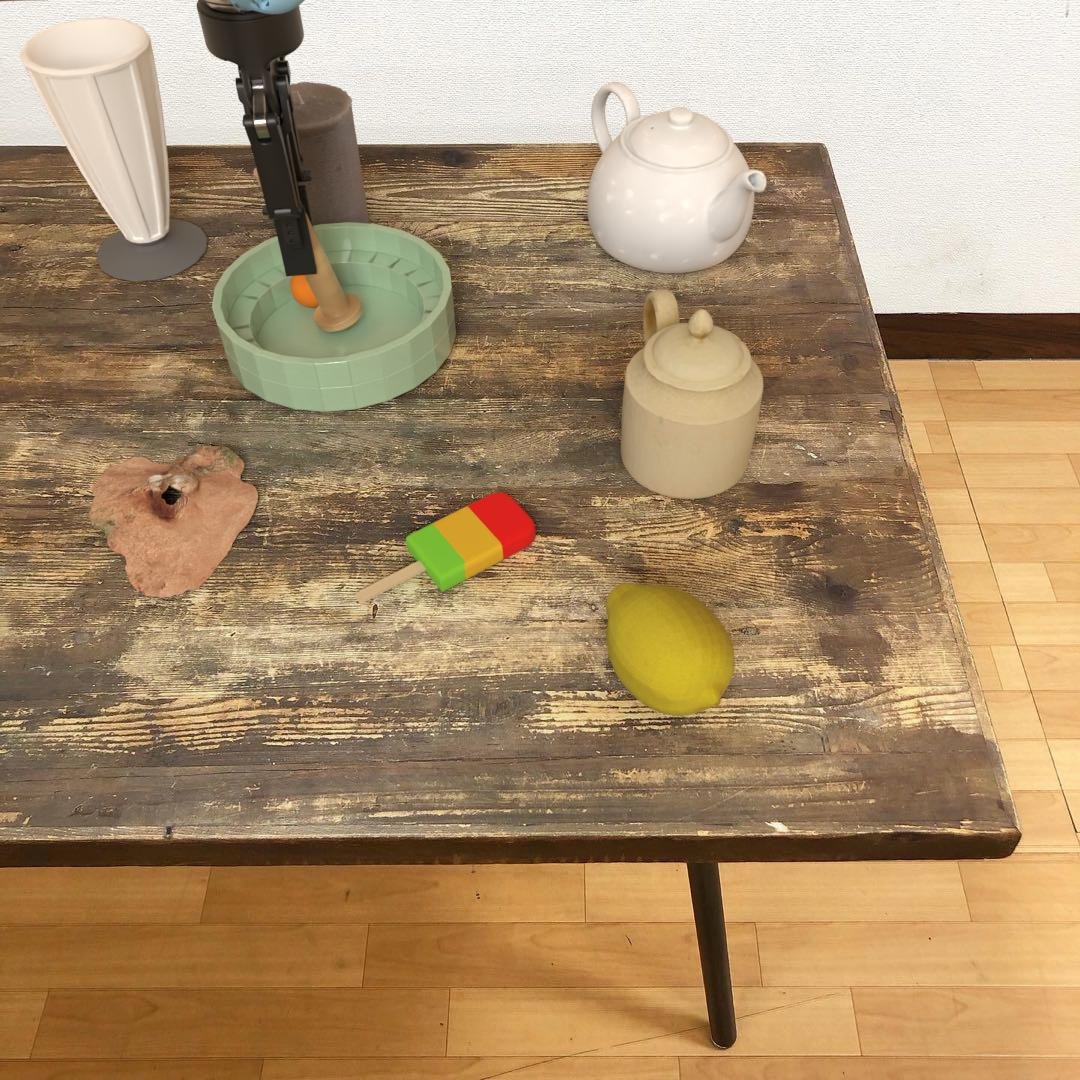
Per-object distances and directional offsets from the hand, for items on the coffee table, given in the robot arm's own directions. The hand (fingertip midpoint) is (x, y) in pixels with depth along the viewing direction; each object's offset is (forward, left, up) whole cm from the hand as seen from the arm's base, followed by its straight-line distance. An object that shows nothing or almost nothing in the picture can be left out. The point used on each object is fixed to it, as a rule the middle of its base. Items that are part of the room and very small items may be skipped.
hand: (302, 262), depth 98 cm
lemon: (+26, -44, -8) cm, 51 cm away
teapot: (+37, +12, -8) cm, 39 cm away
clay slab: (-10, -23, -8) cm, 26 cm away
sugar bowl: (+31, -20, -8) cm, 37 cm away
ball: (0, +3, -5) cm, 6 cm away
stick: (+3, 0, -6) cm, 7 cm away
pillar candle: (+1, +18, -8) cm, 20 cm away
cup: (-17, +16, -8) cm, 25 cm away
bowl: (+3, -2, -8) cm, 8 cm away
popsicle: (+11, -31, -8) cm, 34 cm away
